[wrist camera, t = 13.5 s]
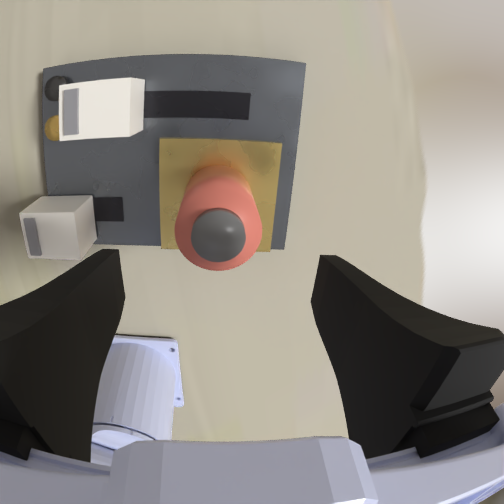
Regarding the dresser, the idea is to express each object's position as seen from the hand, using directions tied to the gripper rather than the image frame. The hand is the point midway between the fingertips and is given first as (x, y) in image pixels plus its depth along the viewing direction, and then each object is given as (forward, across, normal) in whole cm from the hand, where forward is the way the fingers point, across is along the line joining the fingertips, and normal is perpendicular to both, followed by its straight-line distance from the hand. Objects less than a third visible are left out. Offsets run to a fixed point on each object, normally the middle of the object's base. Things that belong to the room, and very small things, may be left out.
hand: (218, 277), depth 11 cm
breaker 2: (+9, +7, -5) cm, 12 cm away
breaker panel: (+10, +4, -2) cm, 11 cm away
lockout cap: (+9, 0, 0) cm, 9 cm away
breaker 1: (+9, +10, +1) cm, 14 cm away
